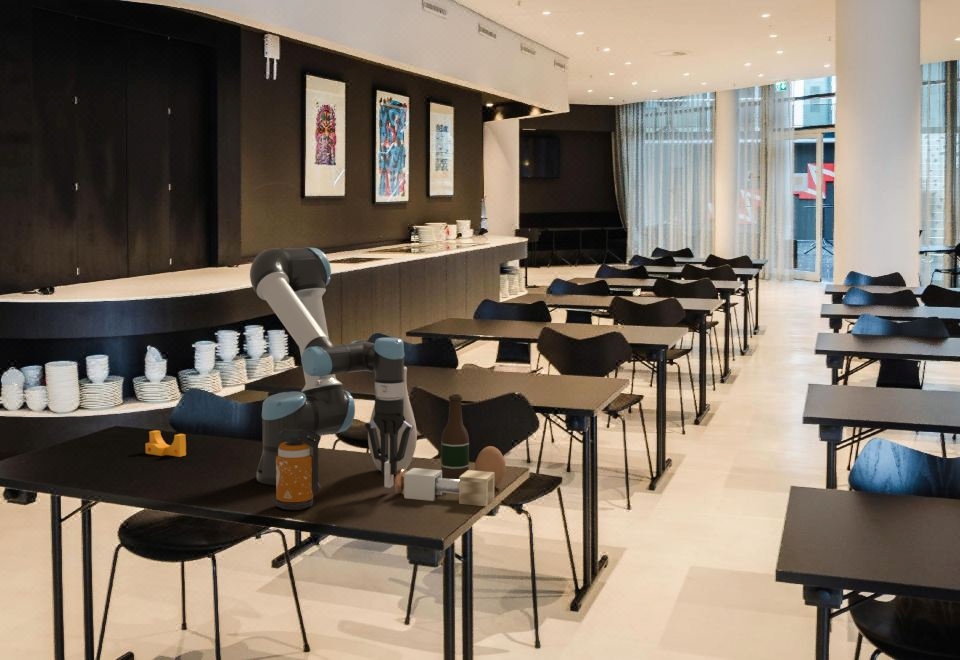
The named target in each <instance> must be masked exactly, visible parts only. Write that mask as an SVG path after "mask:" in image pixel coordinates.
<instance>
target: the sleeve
mask: <svg viewBox="0 0 960 660" xmlns="http://www.w3.org/2000/svg"><path fill="white" fill-rule="evenodd" d="M407 471H408V472H406V473H405V474H404V494H403V497H404V499H411V500H412V499H413V500H419V501H420V500H421V501H431V502H433V501H436V496H441V495H443V492H435V478H442V470H441V469H433V468H432V469H430V468H420V467H412V468H410V469H409V470H407Z"/></svg>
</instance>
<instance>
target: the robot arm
mask: <svg viewBox="0 0 960 660" xmlns="http://www.w3.org/2000/svg"><path fill="white" fill-rule="evenodd" d="M331 276H332V268H331V264H330V261H329V258H328V257H327V255H326V254H325V252H324V251H322V250H321V249H319V248H316V247H308V246H302V247H301V246H300V247H271V248H268V249H267V248H266V249H265V250H262V251H261V252H260V253H258V254H257V255H256V257H255V258H254V259H253V261H252V263H251V266H250V269H249V280H250V282H251V286H252V288H253V291H254V292H255V294H257V296H258V297H259V298H260V299H261V300H264V301H266V303H267V304H268V306H269V307H270V309H272V311H273V313H274V314H275V315H276V316H277V318H278V319H279V321H280V322H281V323H282V325H283V326H284V327H285V329H286V330H287V332H288V333H289V335H290V336H291V337H292V339H293V340H294V341H295V343H296V345H297V346H298V348H299V352H300V357H301V358H300V360H301V361H300V362H301V365H302V369H303V370H302V371H303V376H304V380H305V385H304V387H303V388H302V389H301V391H283V392H278V393H275V394H272V395H270V396H268V397H266V398H265V400H263V402H262V410H261V419H262V423H261V424H262V454H261V457H260V460H259V463H258V466H257V470H256V481H257V482H258V483H261V484H264V485H269V486H276V457H277V456H278V447H279V445H280V444H281V443H284V442H287V441H288V440H284V435H283V436H282V437H279V435H278V433H279V431H283V430H284V428H288V429H303V428H304V427H306V428H308V429H310V430H311V431H313V432H314V433H316V434H318V435H319V436H321V437H323V436H327V435H331V436H333V435H335V434H338V433H343V432H345V431H348V429H349V428H350V427H351V425H352V422H354V419H355V415H356V414H355V413H356V405H355V400H354V397H353V396H352V394H351V393H350V392H349V391H347V390H344V386H343V383H342V382H341V381H339V380H338V379H337V378H336V375H338V374H344V373H345V374H347V373H356V372H371V373H374V397H375V399H374V404H375V415H374V417H373V420H372V421H370V420H369V421H368V422H366V423H365V424H364V427H365V429H366V430H367V433H368V432H369V436H370V440H371V445H372V449H373V454H374V458H375V459H378V460H380V461H381V474H383V475H384V479H383V480H384V481H383V482H384V483H383V484H384V488H388V489H391V488H392V487H394V481H395V476H394V475H396V472H397V461H400V460H402V459H403V458H404V455H405V451H406V447H407V443H408V439H409V434H410V432H411V431H412V429H413V427H414V426H413V425H412V424H411V425H409V424H408V423H407V422H406V421H405V417H404V414H403V413H404V399H403V398H402V397H403V396H404V366H405V349H404V348H405V347H404V345H405V344H404V341H403V339H401V338H399V337H379V338H376V339H375V341H374V342H369V341H367V340H353V341H351V342H350V343H345V344H341V343H340V344H333V342H332V341H331V340H330V337H329V332H328V325H327V320H326V315H325V314H326V313H325V309H324V303H323V299H322V298H323V295H324V294H325V293H326V291H327V290H326V286H328V285H329V283H330V281H331ZM376 397H377V398H376ZM376 425H377V427H378V428H379V430H380V437H381V448H380V444H379V439H378V435H377V431H376V428H375V427H376ZM402 425H403V433H402V437H401V441H400V445H399V450H398V431H399V429H400V428H401V427H402ZM388 435H389V437H390V461H388V459H389V458H388ZM307 437H308V438H310V439H311V437H309V436H308V435H307Z"/></svg>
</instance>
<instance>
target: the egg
mask: <svg viewBox="0 0 960 660" xmlns="http://www.w3.org/2000/svg"><path fill="white" fill-rule="evenodd" d="M506 470H507V465H506V460H505V458H504V456H503V454H502V451H501V450H499V449H498V448H497V447H495V446H491V445H489V446H486V447H484V448H483V449H482V450H481V451H480V452H479V453H478V455H477V458H476V460H475V464H474V471H485V472H495V481H494V488H495V487H497V486H499V485H500V484H501V483H502V481H503V480H504V479H505V476H506Z"/></svg>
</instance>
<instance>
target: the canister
mask: <svg viewBox="0 0 960 660" xmlns="http://www.w3.org/2000/svg"><path fill="white" fill-rule="evenodd" d="M278 435H279V437H282V436H283V435H284V440H288V441H287V442H284V443H281V444H280V445H279V447H278V456H277V457H276V485H275V486H276V487H275V488H276V496H275V497H276V506H277V507H278V508H281V509H283V510H286V511H299V510H304V509H307V508H309V507H311V506H312V505H313V504H314V499H313V498H314V493H316V492H317V491H318V490H320V489H321V486H322V485H321V484H320V482H319V457H320V455H319V454H320V451H319V444H320V441H321V438H322V436H319V435H318V434H316V433H314V432H313V431H311V430H310V429H308V428H306V427H304V428H303V429H288V428H284V430H283V431H279V433H278ZM307 435H308V436H309V437H310V438H308V437H307ZM311 448H312V454H311Z"/></svg>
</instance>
